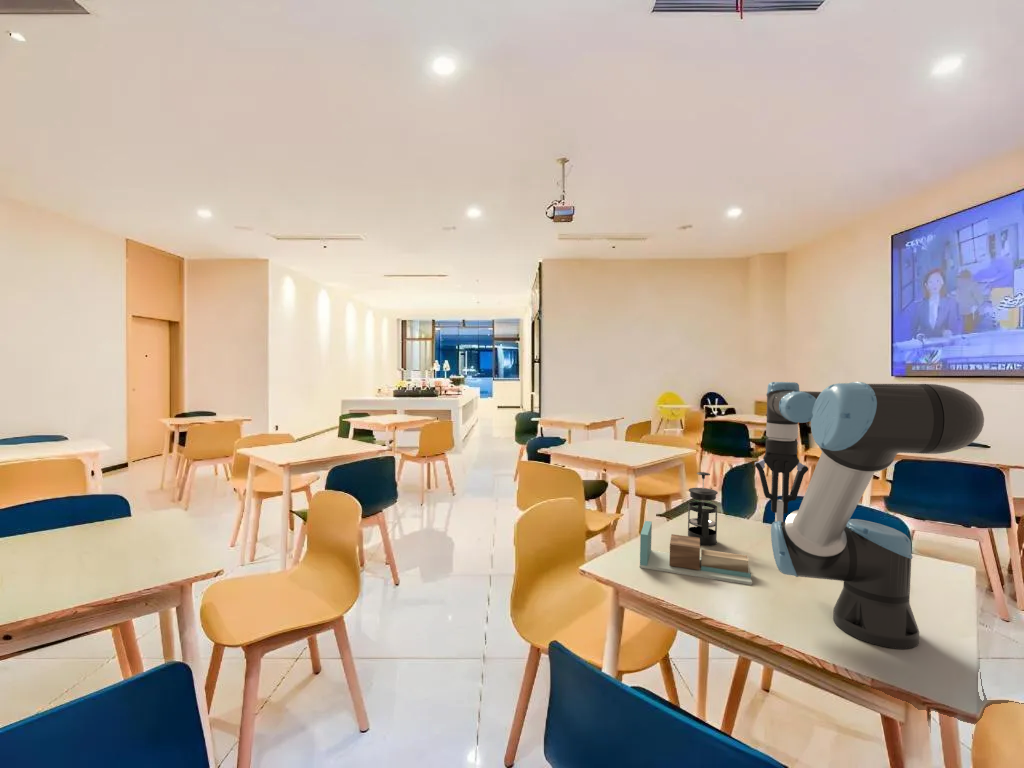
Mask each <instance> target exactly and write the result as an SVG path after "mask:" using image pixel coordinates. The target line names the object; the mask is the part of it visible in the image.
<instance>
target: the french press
mask: <svg viewBox="0 0 1024 768" xmlns="http://www.w3.org/2000/svg"><path fill="white" fill-rule="evenodd" d="M696 475H699V476H701V479H702V487H692V488H691V487H690V488H689V489H688V492H689V497H691V499H694V500H699V501H691V502H688V504H687V505H688V509H687V510H688V511H687V513H688V514H687V520H688V521H687V536H690V537H697V538H700V546H703V547H704V546H707V547H710V546H715V545H717V544H718V540H717V539H718V538H717V532H718V531H717V529H718V527H717V526H718V506H717V505H716V504H714V503H712V502H711V501H715V500H716V499H717V495H718V491H717V490H715V489H711V488H708V487H707V488H706V487H705V486H704V485H705V479H706V476H710V475H711V473H709V472H705V471H699V472H696ZM704 501H705V502H704ZM706 501H707V502H706ZM708 501H710V502H711V503H710V502H708ZM694 506H695V507H694ZM704 507H707V508H704ZM690 511H692V512H695V513H697V517H692V518H690V513H691V512H690ZM710 514H715V520H713V519H710ZM690 525H692V526H690ZM712 528H714V529H712Z"/></svg>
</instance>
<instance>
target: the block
mask: <svg viewBox="0 0 1024 768" xmlns="http://www.w3.org/2000/svg"><path fill="white" fill-rule="evenodd" d="M669 553H670V564H669V566H675V567H682V568H688V569H695V570H699V569H700V557H701V545H700V538H697V537H690V536H688V535H682V534H681V535H679V534H672V533H671V536H670V542H669Z"/></svg>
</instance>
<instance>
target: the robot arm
mask: <svg viewBox="0 0 1024 768" xmlns="http://www.w3.org/2000/svg"><path fill="white" fill-rule="evenodd" d="M765 395H766V426H765V427H766V428H765V430H766V431H765V432H766V433H765V436H766V437H767V438H766V439H765V453H764V455H763V457H762V459H761V460H758V461H754V466H755V468H756V469H757V470H758V473H759V475H758V476H759V478H760V479H759V480H760V483H761V487H762V491H763V494H764V498H766V499H769V500H770V501H771V503H770V504H771V506H770V510H771V512H772V513H774V514H775V515H774V517H775V519H774V521H773V522H772V523H771V526H770V538H771V547H772V553H773V554H772V555H773V558H774V559H773V560H774V562H775V565H776V567H777V569H778V571H779V572H781V574H783V575H785V576H786V575H787V576H793V577H795V578H799V577H800V578H811V579H819V580H831V581H841V582H843V587H842V590H841V592H840V594H839V596H838V598H837V601H836V603H835V605H834V607H833V613H832V617H833V618H832V621H833V622H834V624H835V626H837V627H838V628H839V629H841V631H843V632H845V633H846V634H848V635H850V636H852V637H854V638H856V639H859V640H860V641H862V642H863V641H864V642H865V643H869V644H871V645H872V644H873V645H876V646H880V647H885V648H890V649H899V650H900V649H901V650H903V649H906V650H907V649H912V648H915V647H917V646H918V645H919V643H920V631H919V626H918V623H917V621H916V619H915V615H914V613H913V609H912V607H911V604H910V602H911V601H910V596H911V595H910V594H911V576H912V575H911V573H912V559H913V554H912V542H911V539H910V537H908V535H906V534H905V533H904V532H902V531H900V530H897V529H896V528H894V527H892V526H891V527H890V526H888V525H886V524H885V525H884V524H881V523H877V522H873V521H870V520H864V519H859V518H851V517H852V516H853V514H854V512H855V510H856V508H857V506H858V504H859V503H860V500H861V499H862V497H863V495H864V493H865V492H866V489H867V488H868V486H869V484H870V481H871V480H872V478H873V476H874V474H875V473H877V472H881V471H885V470H886V469H888V468H889V467H890V466H891V465H892V464H893V462H894V460H895V458H896V457H897V455H898V454H899V453H900V454H901V453H902V454H921V455H922V454H923V455H924V454H925V455H926V454H928V455H929V454H930V455H934V454H935V455H936V454H945V453H951V452H955V451H958V450H961V449H963V448H965V447H967V446H969V445H970V444H972V443H973V442H974V441H975V440H977V438H978V437H979V436H980V434H981V433H982V432H983V431H982V430H983V427H984V423H985V417H984V412H983V409H982V407H981V405H980V404H979V403H978V402H977V401H976V399H975V398H974V397H972V396H971V395H969V394H968V393H966V391H965V392H964V391H963V390H960V389H959V388H958V389H957V388H955V387H951V386H947V385H943V384H942V385H941V384H935V383H866V382H863V381H852V382H845V383H844V382H842V383H840V382H839V383H833V384H831V385H828V386H827V387H826V388H824V389H823V390H822V391H809V390H807V391H806V390H805V391H800V384H799V383H798V382H793V381H792V382H791V381H771V382H769V383H768V385H767V391H766V393H765ZM808 422H810V428H811V434H812V438H813V440H814V443H816V445H817V446H818V447H819V450H820V451H821V453H820V456H819V459H818V461H817V463H816V466H815V468H814V471H813V473H812V476H811V478H810V481H809V483H808V486H807V488H806V491H805V493H804V496H803V498H802V500H801V503H800V506H799V509H796V510H794V511H792V512H790V514H789V513H788V512H789V502H791V501H796V500H797V498H798V495H799V492H800V488H801V485H802V482H803V478H804V476H805V475H806V473H807V472H808V471H809V467H808V466H807V465H806V464H803V463H802V462H800V460H799V457H798V445H799V444H798V441H797V439H798V438H799V435H798V434H799V424H801V423H802V424H803V423H805V424H806V423H808ZM765 464H766V465H767V466H768V468H769V469H770V471H771V490H769V485H768V482H767V478H766V473H765V470H764V469H765V467H766V466H765ZM795 468H796V470H797V471H796V474H795V476H794V477H795V478H794V480H793V483H792V487H791V489H790V473H791V472H792V471H793V470H794V469H795ZM780 473H781V474H782V480H781V481H782V483H781V487H782V488H781V499H778V495H779V475H780ZM770 491H771V492H770ZM785 514H788V515H787V517H786V519H785V521H784V515H785Z"/></svg>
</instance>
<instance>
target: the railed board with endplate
mask: <svg viewBox="0 0 1024 768" xmlns="http://www.w3.org/2000/svg"><path fill="white" fill-rule="evenodd" d="M652 523H653V521H649V520H644V523H643V526H642V529H641V531H640V535H639V536H640V543H639V544H640V545H639V546H640V547H639V568H640V569H641V568H642V569H646V570H653V571H658V572H664V573H665V572H666V573H673V574H679V575H683V576H684V575H685V576H691V577H697V578H704V579H709V580H715V581H716V580H718V581H723V582H729V583H736V584H741V585H742V584H743V585H748V586H750V585H751V586H752V585H753V581H752V574H751V572H750V570H749V568H748V573H746V572H739V571H732V570H725V569H719V568H712V567H705V566H701V556H700V569H699V570H695V569H688V568H682V567H675V566H669V564H670V552H667V551H666V552H665V551H658V550H653V549H652V532H653V531H652Z"/></svg>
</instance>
